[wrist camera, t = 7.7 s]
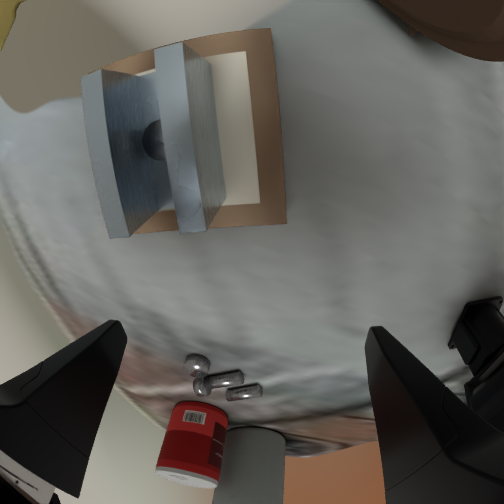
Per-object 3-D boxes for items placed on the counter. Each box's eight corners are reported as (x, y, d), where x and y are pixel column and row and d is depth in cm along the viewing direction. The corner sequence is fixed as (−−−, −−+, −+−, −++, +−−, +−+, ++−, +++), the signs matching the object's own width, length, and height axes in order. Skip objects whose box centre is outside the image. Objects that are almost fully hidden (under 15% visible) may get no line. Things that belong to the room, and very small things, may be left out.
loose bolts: (229, 345, 25) (225, 363, 23) (262, 388, 28) (261, 404, 26) (179, 356, 27) (173, 372, 25) (216, 396, 30) (213, 410, 28)
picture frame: (271, 38, 13) (270, 26, 11) (285, 212, 18) (287, 225, 16) (105, 75, 14) (85, 73, 12) (129, 223, 20) (113, 237, 18)
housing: (226, 197, 16) (206, 231, 11) (150, 205, 16) (109, 238, 12) (211, 64, 12) (182, 41, 8) (131, 83, 13) (80, 78, 8)
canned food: (163, 405, 33) (143, 469, 23) (199, 394, 30) (180, 471, 20) (202, 428, 35) (189, 487, 26) (240, 419, 32) (230, 488, 23)
